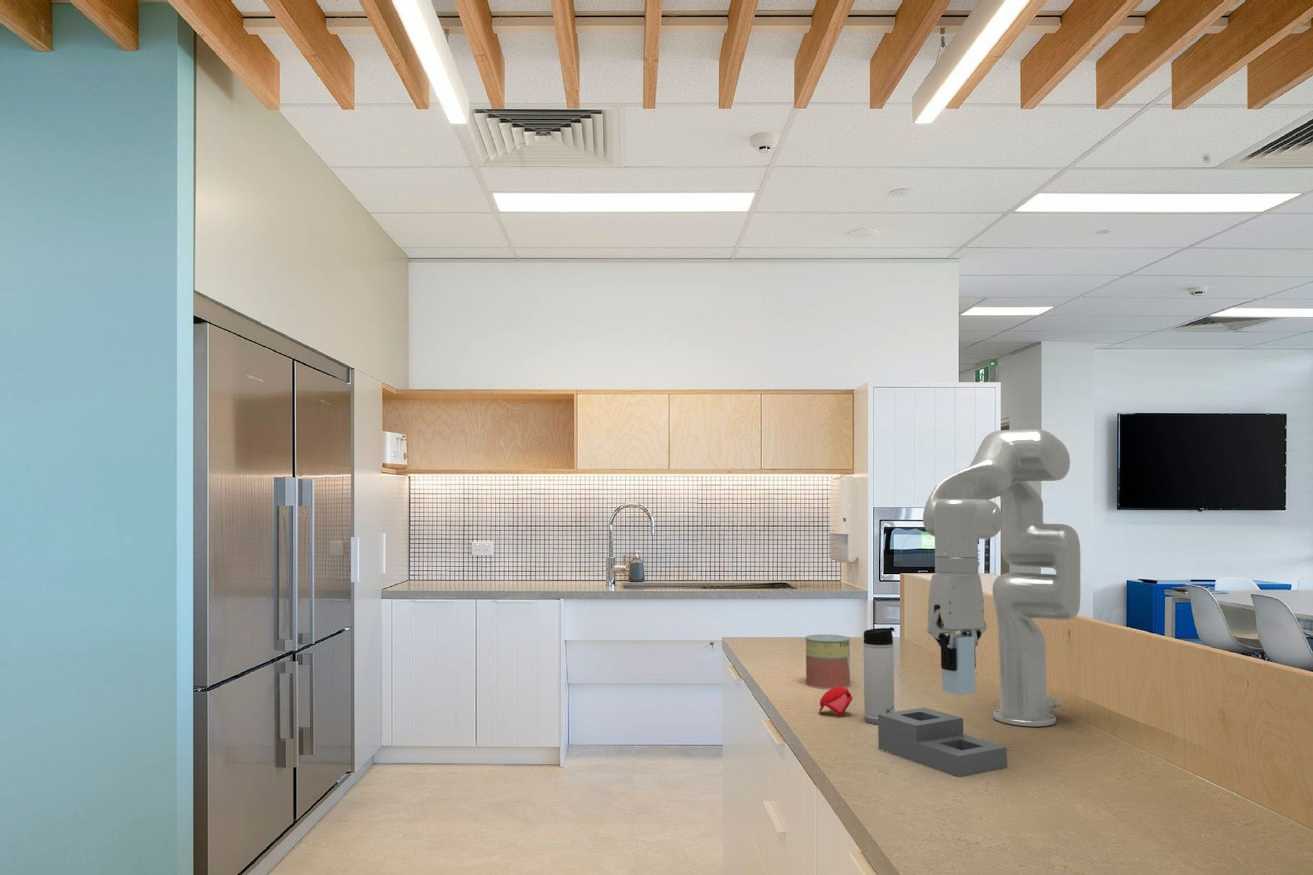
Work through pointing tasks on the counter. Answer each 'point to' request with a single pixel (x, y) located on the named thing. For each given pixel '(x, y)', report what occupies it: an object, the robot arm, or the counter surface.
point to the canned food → (827, 661)
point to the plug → (961, 668)
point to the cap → (836, 700)
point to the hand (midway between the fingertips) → (958, 667)
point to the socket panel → (938, 742)
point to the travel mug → (878, 673)
